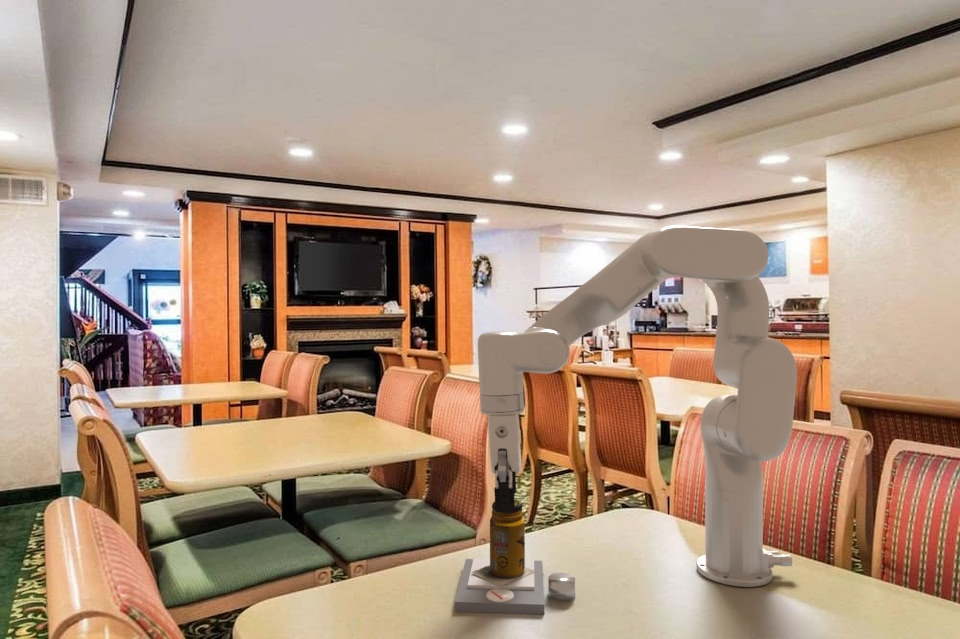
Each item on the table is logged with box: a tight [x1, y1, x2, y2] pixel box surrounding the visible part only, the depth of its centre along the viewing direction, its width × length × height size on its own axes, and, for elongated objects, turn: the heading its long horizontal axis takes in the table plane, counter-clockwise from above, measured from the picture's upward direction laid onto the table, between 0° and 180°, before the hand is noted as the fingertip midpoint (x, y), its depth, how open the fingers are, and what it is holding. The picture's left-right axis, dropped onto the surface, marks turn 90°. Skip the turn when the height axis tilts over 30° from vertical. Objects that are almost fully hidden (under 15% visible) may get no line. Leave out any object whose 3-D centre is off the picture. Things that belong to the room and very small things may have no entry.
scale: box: [454, 558, 545, 615], centre depth 107 cm, size 14×17×2 cm
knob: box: [547, 572, 576, 603], centre depth 104 cm, size 4×4×3 cm
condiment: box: [471, 499, 535, 587], centre depth 108 cm, size 7×8×12 cm
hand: (506, 502), depth 109 cm, fingers open, 9 cm apart
